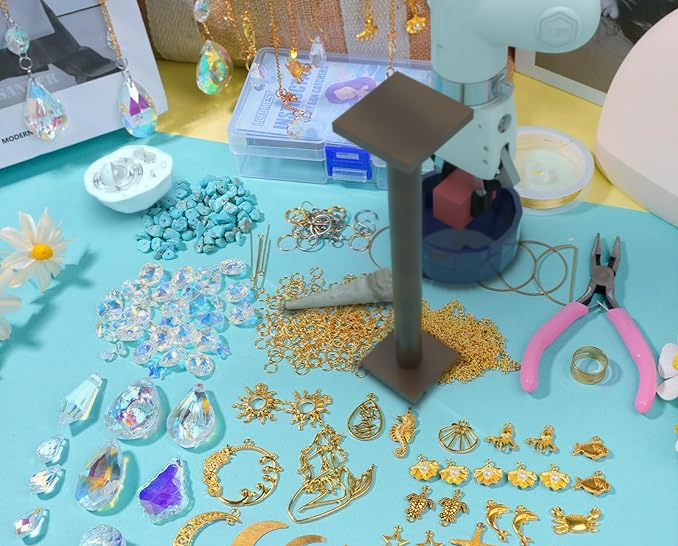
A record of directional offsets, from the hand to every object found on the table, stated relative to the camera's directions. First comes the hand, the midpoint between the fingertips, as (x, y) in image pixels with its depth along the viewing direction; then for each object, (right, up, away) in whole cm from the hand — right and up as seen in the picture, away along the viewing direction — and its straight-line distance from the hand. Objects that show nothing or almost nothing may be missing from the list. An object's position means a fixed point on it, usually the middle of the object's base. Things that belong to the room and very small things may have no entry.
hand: (464, 200), depth 99 cm
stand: (-7, -19, -4) cm, 21 cm away
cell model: (-43, +3, +15) cm, 45 cm away
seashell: (-14, -12, +2) cm, 18 cm away
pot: (0, -4, +6) cm, 7 cm away
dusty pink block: (0, -1, +1) cm, 1 cm away
